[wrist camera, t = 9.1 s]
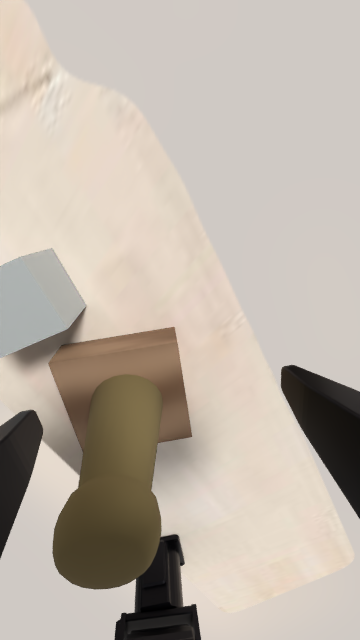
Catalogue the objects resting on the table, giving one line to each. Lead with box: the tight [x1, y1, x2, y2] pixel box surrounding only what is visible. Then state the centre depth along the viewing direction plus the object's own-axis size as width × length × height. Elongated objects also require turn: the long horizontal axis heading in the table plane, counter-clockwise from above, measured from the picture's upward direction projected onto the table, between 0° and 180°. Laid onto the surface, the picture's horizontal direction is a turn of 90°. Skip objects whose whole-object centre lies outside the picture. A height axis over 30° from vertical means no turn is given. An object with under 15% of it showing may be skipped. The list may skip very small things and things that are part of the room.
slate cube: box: [0, 248, 86, 358], centre depth 18 cm, size 5×5×5 cm
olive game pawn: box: [53, 374, 163, 589], centre depth 16 cm, size 6×6×11 cm
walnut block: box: [48, 327, 192, 452], centre depth 23 cm, size 10×10×3 cm
